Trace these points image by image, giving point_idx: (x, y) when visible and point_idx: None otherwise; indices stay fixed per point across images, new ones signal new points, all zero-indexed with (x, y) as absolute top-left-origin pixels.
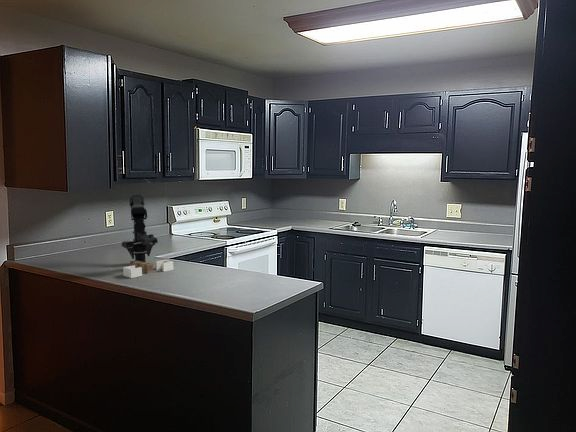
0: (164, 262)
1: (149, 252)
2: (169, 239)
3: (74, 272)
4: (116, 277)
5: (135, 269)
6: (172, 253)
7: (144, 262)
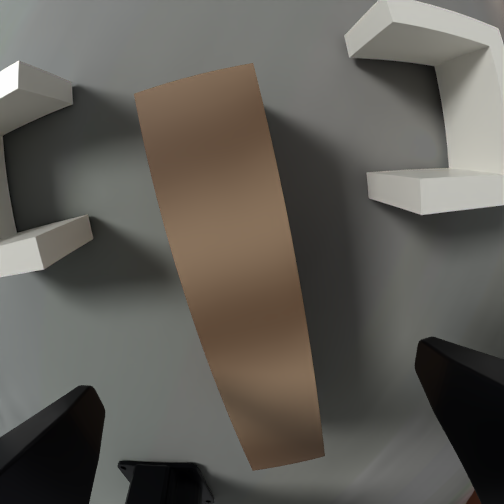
0: None
1: (40, 425)
2: None
3: None
4: None
5: (452, 17)
6: None
7: (206, 301)
